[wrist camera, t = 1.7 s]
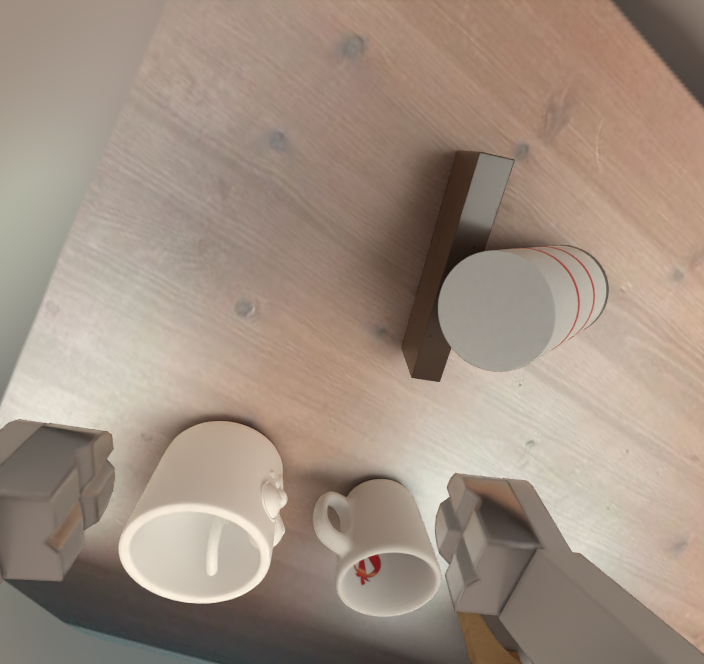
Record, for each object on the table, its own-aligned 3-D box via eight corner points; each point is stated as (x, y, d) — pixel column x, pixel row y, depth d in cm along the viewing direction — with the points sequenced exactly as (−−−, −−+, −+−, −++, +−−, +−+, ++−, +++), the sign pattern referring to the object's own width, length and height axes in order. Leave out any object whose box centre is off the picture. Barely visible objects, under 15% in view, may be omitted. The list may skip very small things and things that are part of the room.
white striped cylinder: (430, 213, 27) (483, 255, 17) (587, 245, 28) (728, 304, 18) (407, 297, 29) (441, 380, 19) (552, 324, 30) (659, 416, 20)
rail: (456, 150, 25) (479, 151, 21) (487, 157, 25) (515, 160, 22) (401, 348, 31) (411, 378, 27) (426, 352, 31) (440, 382, 27)
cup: (291, 494, 37) (282, 581, 30) (345, 437, 34) (349, 516, 27) (383, 541, 40) (394, 630, 33) (438, 492, 37) (464, 576, 30)
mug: (296, 517, 38) (287, 621, 30) (183, 520, 37) (142, 627, 29) (289, 411, 33) (274, 501, 25) (158, 414, 32) (99, 507, 24)
